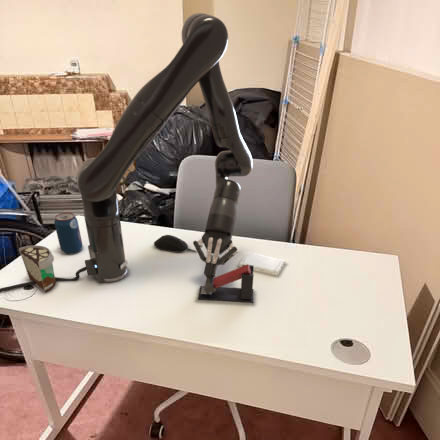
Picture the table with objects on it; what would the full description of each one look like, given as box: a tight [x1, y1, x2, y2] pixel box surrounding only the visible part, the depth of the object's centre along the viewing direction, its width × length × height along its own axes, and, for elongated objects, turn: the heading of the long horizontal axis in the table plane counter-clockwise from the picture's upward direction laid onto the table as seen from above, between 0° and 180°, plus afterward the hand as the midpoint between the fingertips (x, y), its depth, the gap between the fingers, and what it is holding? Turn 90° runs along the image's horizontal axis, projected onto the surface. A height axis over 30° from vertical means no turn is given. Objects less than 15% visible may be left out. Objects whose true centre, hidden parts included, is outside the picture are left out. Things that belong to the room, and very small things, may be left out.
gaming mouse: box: [153, 234, 197, 253], centre depth 131 cm, size 6×15×4 cm, turn 70°
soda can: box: [53, 212, 84, 255], centre depth 126 cm, size 7×7×12 cm
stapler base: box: [197, 265, 254, 304], centre depth 107 cm, size 15×6×9 cm, turn 86°
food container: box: [18, 245, 57, 293], centre depth 111 cm, size 12×6×10 cm, turn 47°
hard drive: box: [238, 251, 286, 276], centre depth 123 cm, size 2×8×12 cm
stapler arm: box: [204, 264, 251, 294], centre depth 106 cm, size 13×6×2 cm, turn 86°
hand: (208, 277), depth 107 cm, fingers closed
